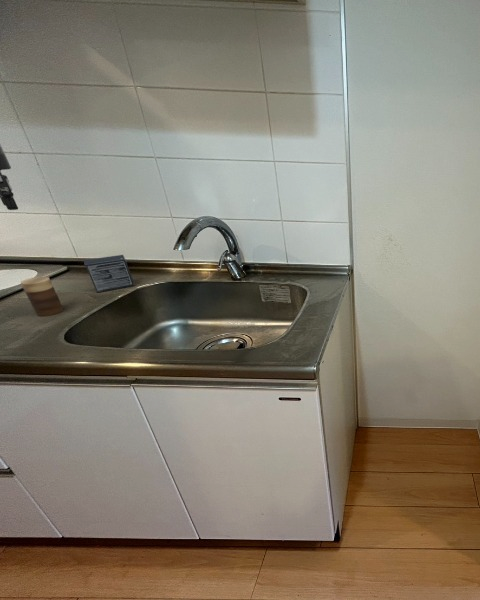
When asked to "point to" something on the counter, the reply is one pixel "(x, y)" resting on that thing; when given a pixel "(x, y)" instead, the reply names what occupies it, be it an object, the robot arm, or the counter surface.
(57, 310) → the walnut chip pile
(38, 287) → the beige short cylinder
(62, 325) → the counter surface
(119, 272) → the small box
